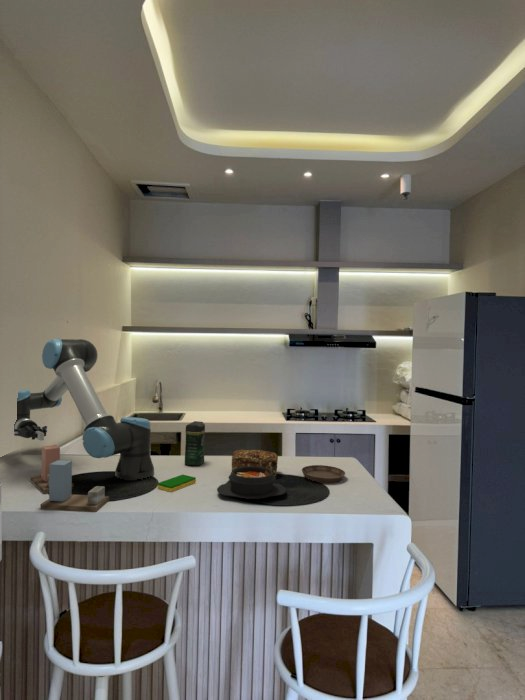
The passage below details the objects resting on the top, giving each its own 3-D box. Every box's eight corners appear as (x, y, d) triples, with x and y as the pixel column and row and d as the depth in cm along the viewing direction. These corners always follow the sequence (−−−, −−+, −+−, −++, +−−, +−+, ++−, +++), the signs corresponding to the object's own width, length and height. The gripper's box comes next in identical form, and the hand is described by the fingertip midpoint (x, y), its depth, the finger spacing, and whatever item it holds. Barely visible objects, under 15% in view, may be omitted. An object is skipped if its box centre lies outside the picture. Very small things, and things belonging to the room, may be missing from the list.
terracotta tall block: (41, 478, 172) (41, 446, 172) (55, 475, 175) (55, 444, 175) (45, 481, 168) (45, 449, 168) (59, 479, 172) (59, 447, 171)
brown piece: (30, 480, 175) (30, 466, 175) (57, 475, 181) (57, 462, 181) (44, 493, 161) (44, 478, 161) (73, 488, 167) (73, 473, 167)
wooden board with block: (40, 508, 147) (40, 491, 147) (56, 497, 157) (56, 482, 157) (96, 511, 146) (96, 494, 146) (109, 500, 156) (109, 484, 155)
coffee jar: (199, 467, 198) (200, 424, 197) (182, 465, 199) (183, 423, 198) (206, 461, 207) (207, 420, 207) (189, 460, 209) (190, 419, 208)
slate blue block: (49, 500, 149) (49, 464, 149) (57, 495, 154) (57, 460, 154) (63, 501, 149) (64, 465, 149) (71, 496, 154) (71, 460, 154)
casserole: (282, 486, 175) (283, 464, 175) (289, 503, 157) (290, 479, 157) (217, 486, 173) (217, 464, 173) (216, 504, 155) (217, 479, 154)
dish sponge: (156, 489, 169) (156, 483, 169) (182, 480, 181) (182, 474, 181) (170, 493, 165) (171, 486, 165) (196, 483, 177) (196, 477, 177)
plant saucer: (341, 472, 196) (341, 465, 196) (348, 485, 178) (348, 478, 178) (300, 471, 196) (300, 464, 196) (302, 484, 178) (303, 476, 178)
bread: (230, 477, 185) (231, 452, 185) (234, 469, 196) (234, 446, 195) (276, 479, 184) (277, 454, 183) (277, 471, 194) (278, 448, 194)
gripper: (42, 434, 202) (59, 444, 184) (9, 438, 193) (23, 448, 176) (42, 417, 202) (59, 425, 184) (9, 421, 193) (23, 429, 175)
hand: (41, 436), depth 180 cm, fingers closed
